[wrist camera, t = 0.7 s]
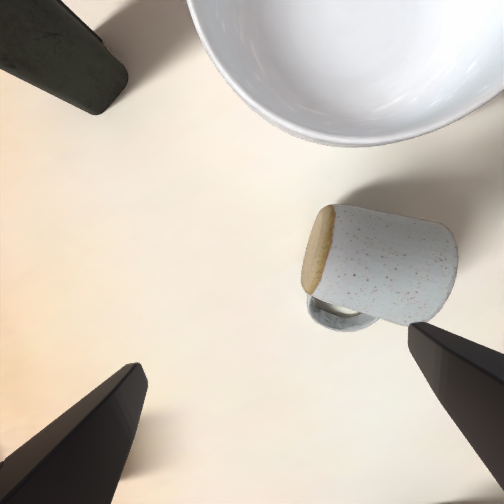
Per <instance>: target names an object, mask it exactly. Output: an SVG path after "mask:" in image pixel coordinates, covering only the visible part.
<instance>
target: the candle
mask: <svg viewBox="0 0 504 504" xmlns="http://www.w3.org/2000/svg"><path fill="white" fill-rule="evenodd" d="M102 42H103V41H102V39H101V38H100V37H99V36H98V35H96V34H95V33H94V32H93V31H92V30H91V29H90V28H89V27H88V26H87V25H86V24H85V23H84V22H83V21H82V20H81V19H80V18H79V17H78V16H77V15H76V14H75V13H73V12H72V11H71V10H70V9H69V8H68V7H67V6H66V5H65V4H64V3H63V2H62V1H61V0H0V69H2V70H4V71H6V72H8V73H10V74H12V75H14V76H16V77H18V78H20V79H22V80H24V81H26V82H28V83H30V84H32V85H34V86H36V87H38V88H40V89H42V90H44V91H46V92H48V93H50V94H52V95H54V96H56V97H58V98H60V99H62V100H64V101H66V102H68V103H70V104H72V105H74V106H76V107H78V108H80V109H82V110H84V111H86V112H88V113H90V114H92V115H99V114H101V113H102V112H103V111H104V110H105V109H106V108H107V107H108V106H109V105H110V104H111V102H112V101H113V100H114V99H115V98H116V97H117V96H118V95H119V93H120V92H121V91H122V90H123V89H124V88H125V86H126V84H127V81H128V74H127V71H126V69H125V67H124V66H123V65H122V64H121V63H120V62H119V61H118V60H117V59H116V58H115V57H114V56H113V55H112V54H111V53H110V52H109V51H108V50H107V49H106V48H105V46H104V45H103V44H102Z"/></svg>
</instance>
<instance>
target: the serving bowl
mask: <svg viewBox="0 0 504 504" xmlns="http://www.w3.org/2000/svg"><path fill="white" fill-rule="evenodd" d="M187 4H188V7H189V10H190V13H191V16H192V19H193V22H194V25H195V28H196V30H197V33H198V35H199V37H200V39H201V42H202V44H203V46H204V48H205V50H206V52H207V53H208V55H209V57H210V59H211V60H212V62H213V64H214V65H215V67H216V68H217V70H218V71H219V73H220V74H221V75H222V77H223V78H224V79H225V81H226V82H227V83H228V84H229V86H230V87H231V88H232V89H233V91H234V92H235V93H236V94H237V95H238V96H239V97H240V98H241V99H242V100H243V101H244V102H245V103H246V104H247V105H248V106H249V107H250V108H251V109H252V110H253V111H254V112H255V113H257V114H258V115H259V116H260V117H262V118H263V119H264V120H266V121H267V122H269V123H270V124H272V125H273V126H275V127H277V128H278V129H280V130H282V131H284V132H286V133H288V134H290V135H292V136H295V137H297V138H300V139H303V140H306V141H309V142H313V143H317V144H322V145H327V146H334V147H371V146H379V145H385V144H391V143H396V142H400V141H404V140H408V139H412V138H415V137H418V136H421V135H424V134H427V133H430V132H433V131H435V130H438V129H440V128H442V127H445V126H447V125H449V124H451V123H453V122H455V121H457V120H459V119H461V118H463V117H464V116H466V115H468V114H470V113H471V112H473V111H475V110H476V109H478V108H479V107H481V106H482V105H484V104H485V103H487V102H489V101H490V100H491V99H493V98H494V97H495V96H497V95H498V94H499V93H501V92H502V91H503V90H504V0H187Z"/></svg>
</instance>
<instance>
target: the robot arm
mask: <svg viewBox="0 0 504 504" xmlns="http://www.w3.org/2000/svg"><path fill="white" fill-rule="evenodd" d="M408 347H409V350H410V352H411V354H412V356H413V358H414V359H415V361H416V363H417V364H418V366H419V368H420V369H421V371H422V373H423V375H424V376H425V378H426V380H427V381H428V383H429V385H430V387H431V388H432V390H433V392H434V393H435V395H436V397H437V398H438V400H439V401H440V403H441V404H442V405H443V407H444V408H445V410H446V411H447V413H448V414H449V415H450V417H451V418H452V419H453V421H454V422H455V424H456V425H457V426H458V428H459V429H460V431H461V432H462V433H463V435H464V436H465V438H466V439H467V440H468V442H469V443H470V445H471V446H472V447H473V449H474V450H475V451H476V453H477V454H478V456H479V457H480V458H481V460H482V461H483V463H484V464H485V465H486V467H487V468H488V470H489V471H490V472H491V474H492V475H493V477H494V478H495V479H496V481H497V482H498V484H499V485H500V486H501V488H502V489H503V490H504V354H502V353H500V352H497V351H495V350H492V349H490V348H488V347H485V346H483V345H480V344H478V343H475V342H473V341H470V340H468V339H465V338H463V337H461V336H458V335H456V334H453V333H451V332H448V331H446V330H443V329H441V328H438V327H436V326H434V325H431V324H429V323H426V322H414V323H410V324H409V326H408ZM147 388H148V380H147V378H146V375H145V373H144V370H143V368H142V366H141V364H140V363H138V362H137V363H130V364H126V365H125V366H124V367H122V368H121V369H120V370H118V371H117V372H116V373H115V374H113V375H112V376H111V377H109V378H108V379H107V380H106V381H104V382H103V383H102V384H100V385H99V386H98V387H97V388H95V389H94V390H93V391H91V392H90V393H89V394H88V395H86V396H85V397H84V398H82V399H81V400H80V401H79V402H77V403H76V404H75V405H73V406H72V407H71V408H70V409H68V410H67V411H66V412H64V413H63V414H62V415H61V416H59V417H58V418H57V419H55V420H54V421H53V422H52V423H50V424H49V425H48V426H47V427H45V428H44V429H43V430H41V431H40V432H39V433H38V434H36V435H35V436H34V437H32V438H31V439H30V440H29V441H27V442H26V443H25V444H23V445H22V446H21V447H20V448H18V449H17V450H16V451H14V452H13V453H12V454H11V455H9V456H8V457H7V458H6V459H5V460H4V461H2V462H0V504H111V502H112V499H113V496H114V493H115V491H116V488H117V485H118V482H119V479H120V477H121V474H122V471H123V468H124V465H125V463H126V460H127V457H128V454H129V451H130V449H131V446H132V443H133V440H134V437H135V434H136V430H137V427H138V423H139V419H140V415H141V411H142V408H143V404H144V400H145V396H146V392H147Z"/></svg>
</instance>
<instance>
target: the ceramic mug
mask: <svg viewBox="0 0 504 504" xmlns="http://www.w3.org/2000/svg"><path fill="white" fill-rule="evenodd" d="M457 268H458V248H457V245H456V241H455V239H454V236H453V234H452V233H451V231H450V230H449V229H448V228H447V227H445V226H444V225H442V224H440V223H437V222H432V221H426V220H421V219H416V218H411V217H406V216H401V215H396V214H391V213H385V212H380V211H375V210H370V209H366V208H361V207H357V206H351V205H336V204H334V205H328V206H326V207H324V208H323V209H321V210H320V212H319V213H318V215H317V218H316V220H315V222H314V225H313V228H312V231H311V234H310V237H309V241H308V244H307V248H306V252H305V257H304V261H303V267H302V273H301V284H302V287H303V289H304V290H305V292H306V293H307V309H308V313H309V315H310V316H311V317H312V319H313V320H314V321H315V322H317V323H318V324H320V325H322V326H324V327H326V328H328V329H331V330H335V331H341V332H353V331H358V330H361V329H364V328H366V327H368V326H370V325H372V324H373V323H375V322H376V321H377V320H378V319H379V318H380V319H383V320H386V321H389V322H392V323H395V324H398V325H402V326H409V324H410V323H414V322H428V321H429V320H430V319H432V318H433V317H434V316H435V315H436V314H437V313H438V312H439V311H440V310H441V308H442V307H443V305H444V304H445V302H446V301H447V299H448V297H449V295H450V293H451V290H452V288H453V286H454V282H455V278H456V274H457ZM313 297H315V298H317V299H319V300H321V301H323V302H327V303H330V304H333V305H337V306H341V307H345V308H349V309H352V310H355V311H358V312H361V313H362V314H359V315H357V316H352V317H339V316H336V315H333V314H331V313H328V312H325V311H324V310H322V309H318V308H317V307H316V306H315V305H314V303H313V301H312V298H313Z"/></svg>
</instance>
